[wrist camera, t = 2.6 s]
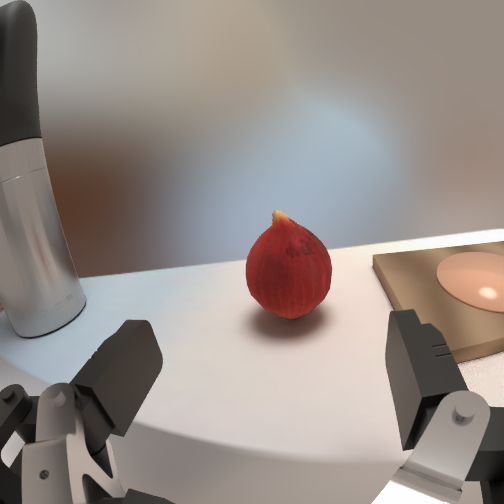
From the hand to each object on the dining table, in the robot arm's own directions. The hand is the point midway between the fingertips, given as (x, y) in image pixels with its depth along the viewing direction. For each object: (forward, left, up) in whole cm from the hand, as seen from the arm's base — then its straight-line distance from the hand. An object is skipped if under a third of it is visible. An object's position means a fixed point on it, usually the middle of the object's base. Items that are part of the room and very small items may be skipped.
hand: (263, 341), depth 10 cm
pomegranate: (-4, +10, -7) cm, 13 cm away
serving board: (+11, +17, -7) cm, 21 cm away
